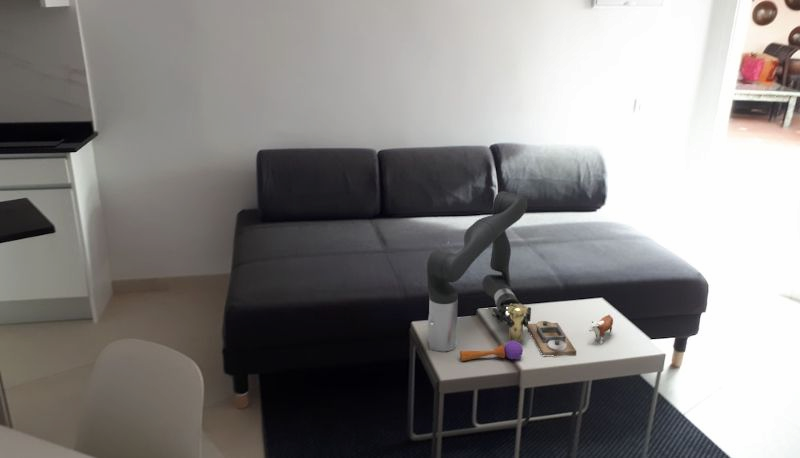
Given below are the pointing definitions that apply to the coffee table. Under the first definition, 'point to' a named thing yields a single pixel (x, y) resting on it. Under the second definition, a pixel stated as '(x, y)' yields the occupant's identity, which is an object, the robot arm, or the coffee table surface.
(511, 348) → the kendama
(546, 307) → the coffee table surface
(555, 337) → the board
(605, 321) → the bull figurine
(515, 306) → the brass pinion
